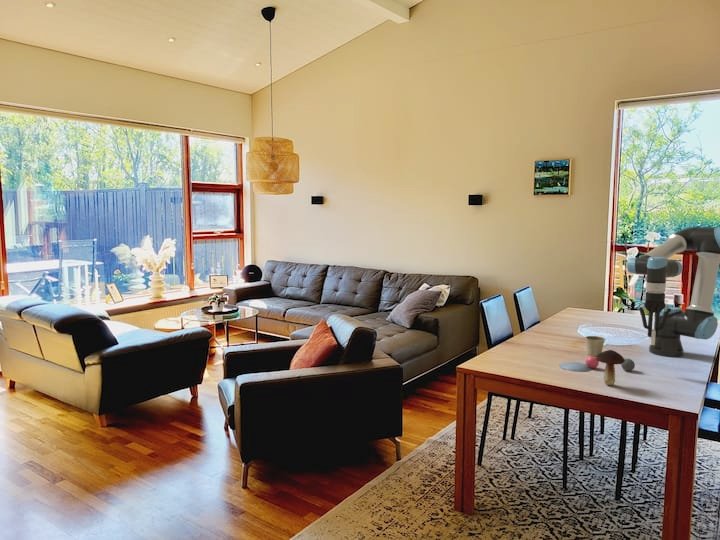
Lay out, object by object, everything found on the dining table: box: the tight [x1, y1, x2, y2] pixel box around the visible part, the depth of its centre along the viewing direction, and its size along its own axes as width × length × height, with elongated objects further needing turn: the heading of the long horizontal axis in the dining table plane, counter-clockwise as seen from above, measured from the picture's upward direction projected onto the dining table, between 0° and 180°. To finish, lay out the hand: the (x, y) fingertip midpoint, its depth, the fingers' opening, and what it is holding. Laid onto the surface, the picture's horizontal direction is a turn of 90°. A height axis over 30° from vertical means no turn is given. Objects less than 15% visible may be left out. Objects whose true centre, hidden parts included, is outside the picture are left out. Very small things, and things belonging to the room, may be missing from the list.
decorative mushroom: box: [595, 349, 625, 386], centre depth 220 cm, size 11×11×15 cm
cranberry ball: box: [585, 355, 600, 369], centre depth 244 cm, size 6×6×6 cm
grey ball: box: [620, 358, 636, 372], centre depth 239 cm, size 6×6×6 cm
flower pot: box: [584, 335, 606, 357], centre depth 265 cm, size 9×9×9 cm
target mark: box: [559, 361, 593, 373], centre depth 246 cm, size 14×14×1 cm
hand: (652, 344), depth 235 cm, fingers closed
